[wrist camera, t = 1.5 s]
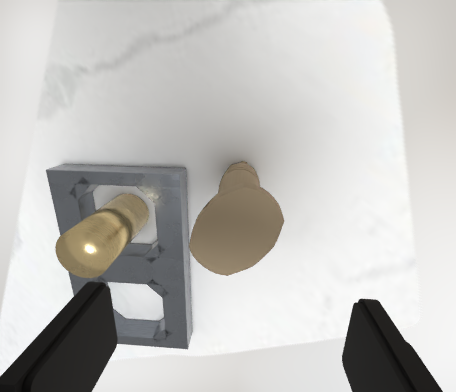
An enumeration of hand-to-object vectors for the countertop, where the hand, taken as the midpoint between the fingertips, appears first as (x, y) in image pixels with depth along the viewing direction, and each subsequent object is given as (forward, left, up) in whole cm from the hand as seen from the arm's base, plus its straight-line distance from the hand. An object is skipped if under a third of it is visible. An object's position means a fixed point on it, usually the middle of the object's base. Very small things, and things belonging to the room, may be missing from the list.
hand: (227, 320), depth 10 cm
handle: (0, 0, -22) cm, 22 cm away
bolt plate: (+12, -14, -22) cm, 28 cm away
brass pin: (+5, -14, -22) cm, 26 cm away
